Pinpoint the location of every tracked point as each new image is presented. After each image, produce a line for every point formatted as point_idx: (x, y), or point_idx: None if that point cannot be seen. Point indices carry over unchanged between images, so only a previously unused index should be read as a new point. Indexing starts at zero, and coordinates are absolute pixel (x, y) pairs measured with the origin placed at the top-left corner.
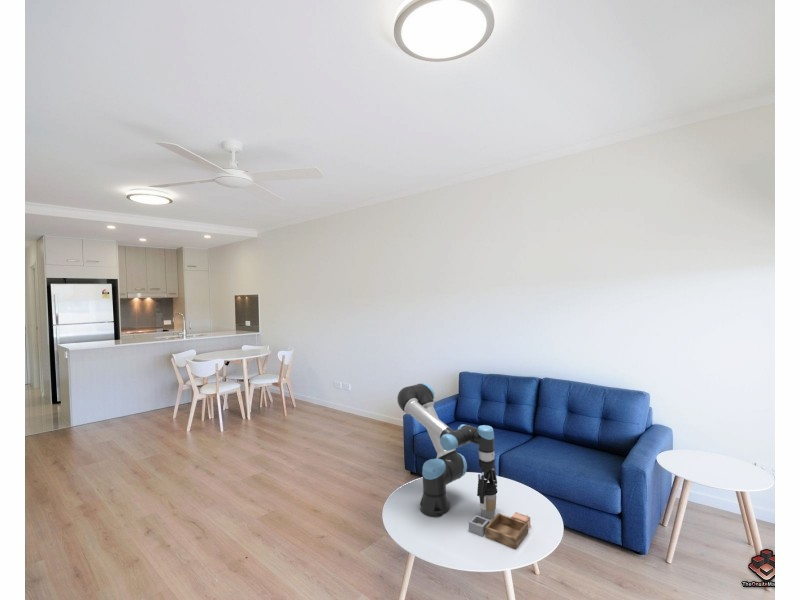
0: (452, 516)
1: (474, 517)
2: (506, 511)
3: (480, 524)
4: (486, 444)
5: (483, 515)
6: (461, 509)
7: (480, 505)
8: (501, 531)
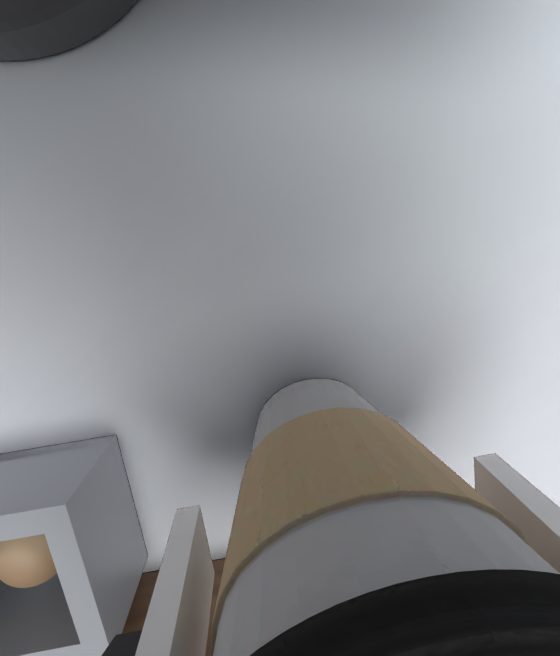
0: (36, 152)
1: (2, 528)
2: None
3: (20, 586)
4: None
5: (254, 438)
6: (231, 137)
7: (166, 555)
8: None
